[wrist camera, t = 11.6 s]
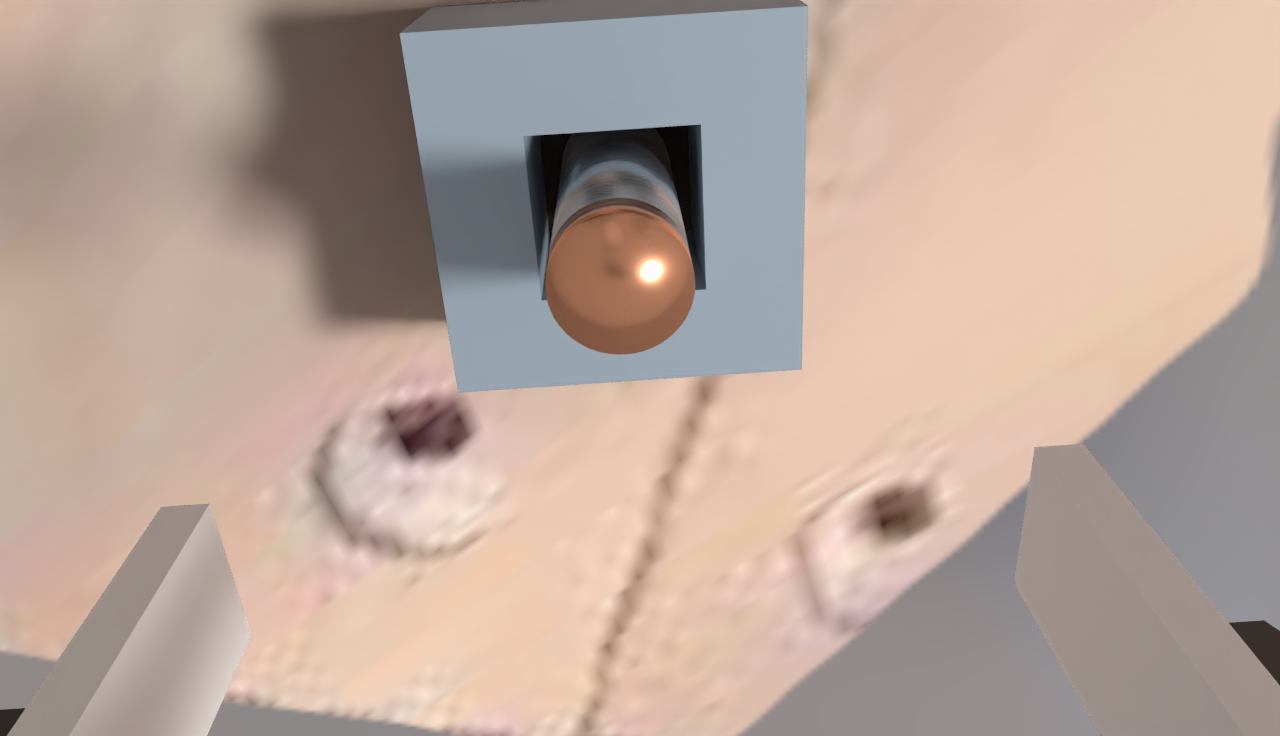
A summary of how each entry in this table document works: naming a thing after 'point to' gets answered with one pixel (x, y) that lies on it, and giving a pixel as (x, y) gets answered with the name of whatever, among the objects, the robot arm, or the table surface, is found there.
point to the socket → (602, 101)
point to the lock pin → (618, 244)
